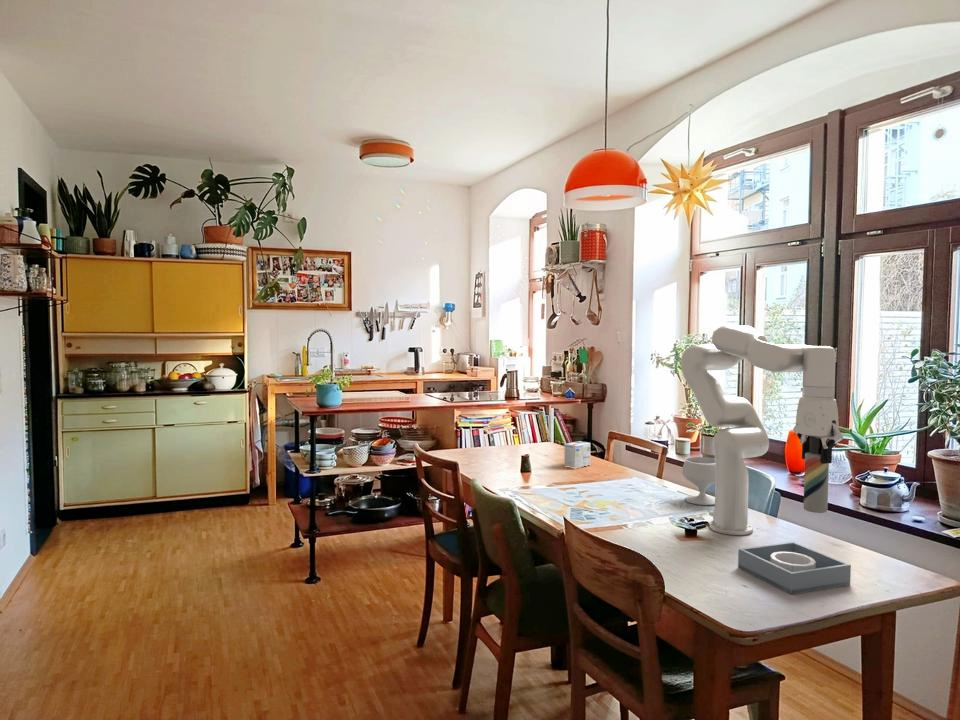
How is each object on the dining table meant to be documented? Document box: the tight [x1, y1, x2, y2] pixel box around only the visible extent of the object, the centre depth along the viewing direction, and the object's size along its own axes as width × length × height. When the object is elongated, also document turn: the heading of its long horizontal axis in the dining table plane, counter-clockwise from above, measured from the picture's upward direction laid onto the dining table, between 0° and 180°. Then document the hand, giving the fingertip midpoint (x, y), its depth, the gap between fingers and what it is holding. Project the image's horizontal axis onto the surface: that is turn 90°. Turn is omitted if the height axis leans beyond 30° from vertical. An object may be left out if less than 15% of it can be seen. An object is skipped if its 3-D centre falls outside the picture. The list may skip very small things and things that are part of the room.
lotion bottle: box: [803, 436, 830, 514], centre depth 172 cm, size 6×6×20 cm
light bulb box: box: [563, 440, 591, 468], centre depth 290 cm, size 11×7×11 cm, turn 130°
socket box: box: [737, 541, 852, 596], centre depth 163 cm, size 18×18×5 cm
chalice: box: [681, 456, 716, 506], centre depth 233 cm, size 14×14×15 cm
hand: (816, 460), depth 172 cm, fingers closed on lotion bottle, 5 cm apart
